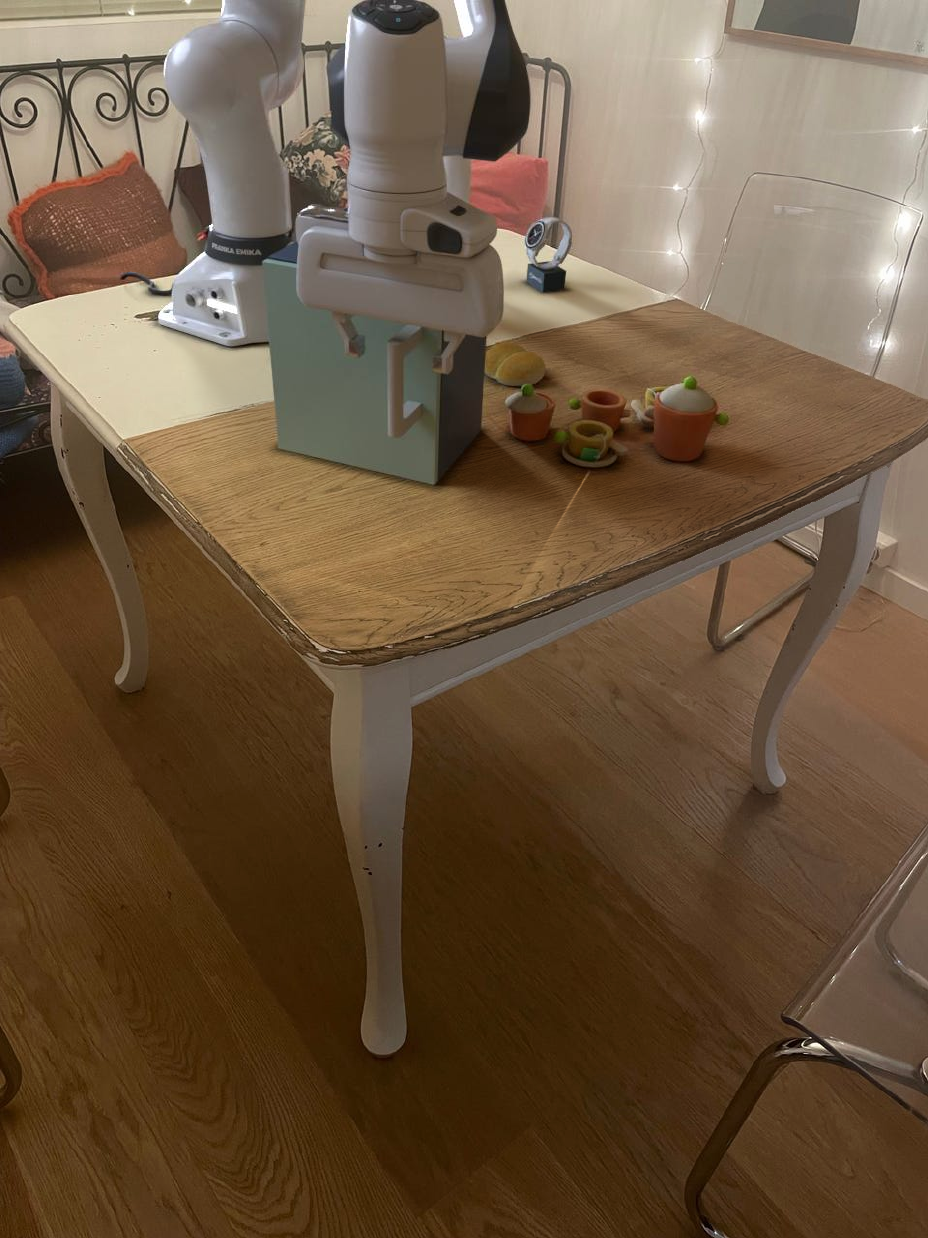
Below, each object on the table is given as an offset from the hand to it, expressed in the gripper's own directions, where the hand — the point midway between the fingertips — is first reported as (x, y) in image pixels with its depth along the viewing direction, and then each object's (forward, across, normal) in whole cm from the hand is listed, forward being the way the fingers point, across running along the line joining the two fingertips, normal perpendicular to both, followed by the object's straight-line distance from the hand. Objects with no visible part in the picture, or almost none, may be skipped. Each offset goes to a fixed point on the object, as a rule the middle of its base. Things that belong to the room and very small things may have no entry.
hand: (398, 363), depth 93 cm
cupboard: (+16, -8, +13) cm, 22 cm away
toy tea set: (+16, +18, +24) cm, 34 cm away
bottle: (+16, -22, +69) cm, 75 cm away
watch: (+16, -6, +76) cm, 78 cm away
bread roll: (+16, 0, +38) cm, 42 cm away
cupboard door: (+16, -8, +3) cm, 18 cm away
